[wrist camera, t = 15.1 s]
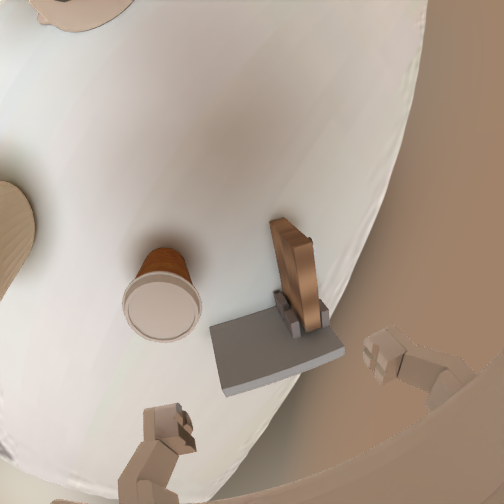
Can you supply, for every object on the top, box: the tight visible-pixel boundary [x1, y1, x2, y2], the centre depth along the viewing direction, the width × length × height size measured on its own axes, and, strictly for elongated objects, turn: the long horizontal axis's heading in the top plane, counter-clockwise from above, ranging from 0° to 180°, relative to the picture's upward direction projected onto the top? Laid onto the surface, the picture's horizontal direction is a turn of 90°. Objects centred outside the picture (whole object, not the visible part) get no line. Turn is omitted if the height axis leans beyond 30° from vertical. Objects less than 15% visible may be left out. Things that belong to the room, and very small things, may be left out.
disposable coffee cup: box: [122, 248, 202, 343], centre depth 35 cm, size 10×10×12 cm
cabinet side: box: [210, 292, 345, 397], centre depth 41 cm, size 5×18×14 cm, turn 102°
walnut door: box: [269, 218, 321, 333], centre depth 40 cm, size 14×4×10 cm, turn 12°
